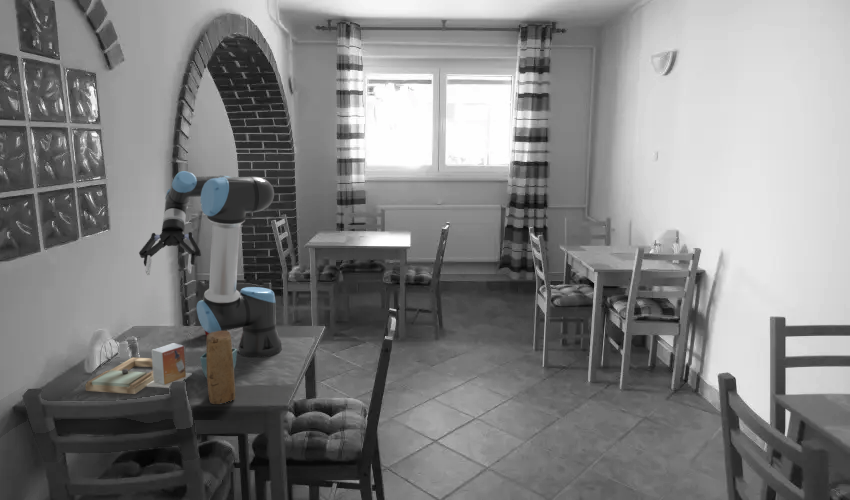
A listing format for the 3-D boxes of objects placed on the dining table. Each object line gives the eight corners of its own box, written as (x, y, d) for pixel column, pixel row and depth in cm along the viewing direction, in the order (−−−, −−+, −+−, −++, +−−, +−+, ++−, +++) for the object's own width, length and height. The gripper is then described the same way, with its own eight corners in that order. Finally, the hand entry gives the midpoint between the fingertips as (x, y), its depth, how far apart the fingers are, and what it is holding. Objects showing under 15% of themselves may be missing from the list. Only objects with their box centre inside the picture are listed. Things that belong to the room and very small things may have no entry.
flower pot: (212, 374, 190) (210, 347, 188) (238, 374, 189) (237, 348, 188) (201, 384, 181) (199, 357, 179) (229, 385, 181) (227, 358, 179)
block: (236, 404, 168) (232, 337, 164) (208, 407, 165) (204, 340, 162) (234, 389, 178) (231, 326, 174) (208, 392, 175) (204, 329, 172)
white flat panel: (191, 374, 189) (191, 373, 189) (173, 388, 178) (173, 387, 178) (166, 372, 190) (165, 371, 190) (146, 386, 179) (145, 385, 179)
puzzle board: (176, 365, 197) (175, 353, 196) (135, 393, 174) (133, 380, 173) (132, 363, 198) (131, 351, 198) (86, 390, 176) (84, 377, 175)
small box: (164, 385, 179) (161, 352, 178) (153, 381, 182) (150, 349, 180) (186, 376, 186) (184, 345, 184) (175, 373, 189) (173, 342, 187)
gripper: (210, 229, 220) (207, 276, 208) (139, 230, 215) (132, 279, 203) (208, 217, 214) (204, 265, 202) (134, 218, 209) (126, 267, 197)
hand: (168, 272), depth 203 cm, fingers open, 13 cm apart
